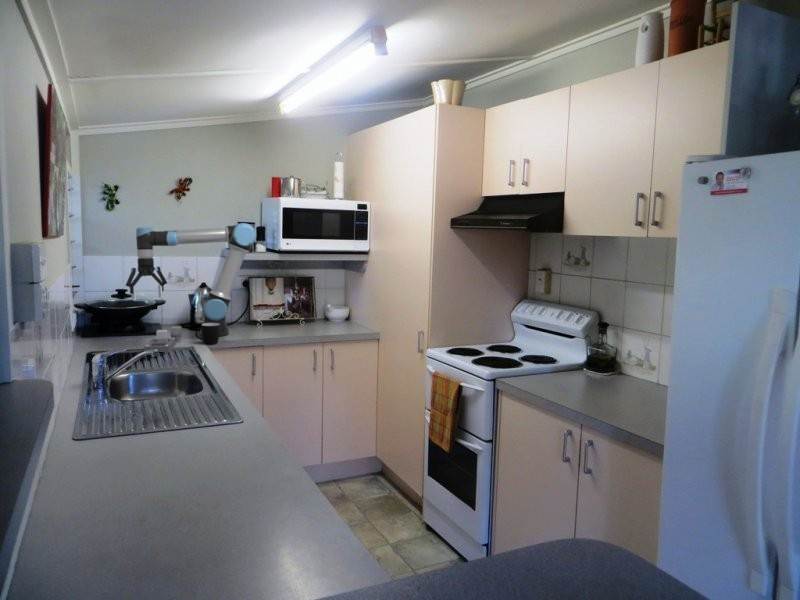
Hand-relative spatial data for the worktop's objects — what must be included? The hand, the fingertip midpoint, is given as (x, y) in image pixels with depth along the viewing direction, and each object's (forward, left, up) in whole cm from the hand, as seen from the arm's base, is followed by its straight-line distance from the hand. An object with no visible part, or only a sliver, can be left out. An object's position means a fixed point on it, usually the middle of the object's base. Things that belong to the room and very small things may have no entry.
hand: (147, 299), depth 304 cm
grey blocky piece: (-9, +20, -22) cm, 31 cm away
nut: (-14, +4, -22) cm, 27 cm away
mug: (-30, +9, -22) cm, 39 cm away
